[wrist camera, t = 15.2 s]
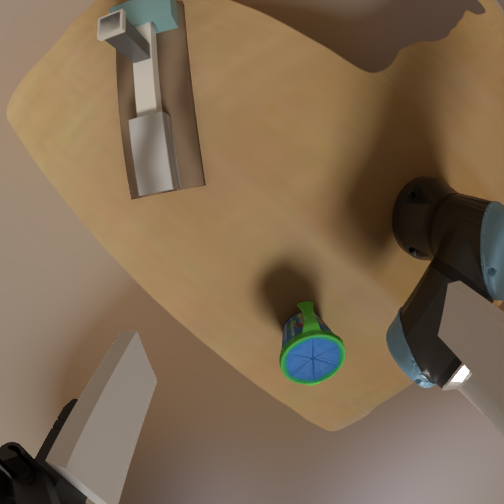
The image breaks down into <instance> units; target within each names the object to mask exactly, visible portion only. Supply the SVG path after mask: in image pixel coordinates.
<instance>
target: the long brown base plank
mask: <svg viewBox="0 0 504 504" xmlns="http://www.w3.org/2000/svg"><path fill="white" fill-rule="evenodd" d="M177 17H178V28H176V29H171V30H167V31H164V32H160V33H156V43H157V58H158V71H159V83H160V93H161V103H162V111H160V112H156V113H152V114H149V115H145V116H141V117H138V118H137V110H136V100H135V87H134V72H133V62H132V61H131V60H130V59H128V58H127V57H126V56H125V55H123V54H122V53H121V52H120V51H118V50H117V49H116V63H117V87H118V101H119V113H120V124H121V133H122V141H123V149H124V156H125V163H126V170H127V176H128V182H129V188H130V194H131V199H137V198H141V197H146V196H151V195H156V194H161V193H166V192H171V191H176V190H182V189H188V188H193V187H199V186H204V185H206V184H205V178H204V171H203V164H202V157H201V150H200V143H199V136H198V129H197V121H196V114H195V106H194V98H193V90H192V81H191V72H190V63H189V54H188V44H187V34H186V23H185V11H184V4H183V2H178V3H177Z"/></svg>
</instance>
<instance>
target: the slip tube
mask: <svg viewBox="0 0 504 504" xmlns="http://www.w3.org/2000/svg"><path fill="white" fill-rule="evenodd" d="M97 39H98V40H99V41H103V40H105V41H107V42H108V43H109V44H111V45H112V46H113V47H115V48H116V49H117V50H118V51H120V52H121V53H122V54H123V55H125V56H126V57H127V58H128V59H130V60H131V61H132V62H133V72H134V87H135V100H136V110H137V118H138V117H141V116H145V115H149V114H152V113H156V112H160V111H162V103H161V93H160V83H159V71H158V58H157V43H156V25H155V24H154V22H153V21H151V22H148V23H145V24H142V25H139V26H136V27H134V26H133V25H132V24H131V23H130V21H129V20H128V19H127V18H126V12H125V11H124V10H123V9H121V10H118V11H115V12H113V13H110V14H108V15H105V16H103V17H101V18H98V26H97Z"/></svg>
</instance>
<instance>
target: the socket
mask: <svg viewBox="0 0 504 504" xmlns="http://www.w3.org/2000/svg"><path fill="white" fill-rule="evenodd" d="M121 9H123V10H124V11H125V12H126V18H127V19H128V20H129V21H130V23H131V24H132V25H133V26H134V27H136V26H139V25H142V24H145V23H148V22H151V21H153V22H154V24H155V25H156V33H160V32H164V31H167V30H171V29H176V28H178V17H177V3H176V1H175V0H130V1H127V2H124V3H121V4H119V5H116V6H114V7H111V8H110V13H113V12H115V11H118V10H121Z"/></svg>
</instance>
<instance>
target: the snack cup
mask: <svg viewBox="0 0 504 504" xmlns="http://www.w3.org/2000/svg"><path fill="white" fill-rule="evenodd" d="M297 307H298V308H299V309H300V310H301V311H302V312H300V313H298V314H296V315H294V316H292V317H291V318H290V319H289V320H288V321H287V322H286V323H285V325H284V330H283V341H282V350H281V354H280V367H281V370H282V373H283V375H284V376H285V377H286V378H288V379H289V380H290V381H292V382H295V383H298V384H306V385H307V386H309V385H315V384H319V383H320V382H322V381H324V380H326V379H328V378H330V377H331V376H333V375H334V374H335V373H336V372H337V371H338V370H339V369H340V368H341V366H342V364H343V362H344V360H345V348H344V345H343V341H342V340H341V338H340V337H338V336H337V335H335V334H334V333H332V331H331V330H330V329H329V327H328V326H327V325H326V324H325V323H324V322H323V320H322V319H321V318H320V317H319V316H318V315H316V314H315V313H314V309H313V302H312V301H305V302H300V303H298V304H297Z"/></svg>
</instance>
